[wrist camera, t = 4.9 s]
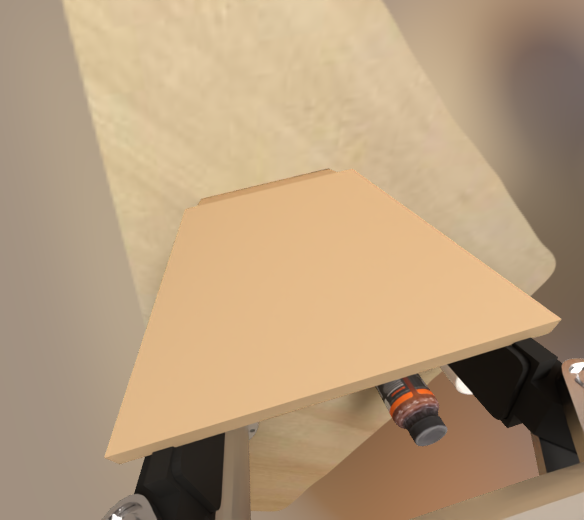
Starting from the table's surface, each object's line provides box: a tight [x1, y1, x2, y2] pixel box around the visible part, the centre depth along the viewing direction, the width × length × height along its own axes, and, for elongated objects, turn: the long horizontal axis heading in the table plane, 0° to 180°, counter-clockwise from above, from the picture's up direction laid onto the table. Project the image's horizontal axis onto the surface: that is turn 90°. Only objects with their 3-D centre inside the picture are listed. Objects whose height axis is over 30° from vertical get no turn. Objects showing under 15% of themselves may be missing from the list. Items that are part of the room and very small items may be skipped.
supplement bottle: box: [375, 373, 447, 446], centre depth 32 cm, size 6×6×11 cm
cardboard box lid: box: [104, 169, 561, 464], centre depth 11 cm, size 14×12×1 cm
